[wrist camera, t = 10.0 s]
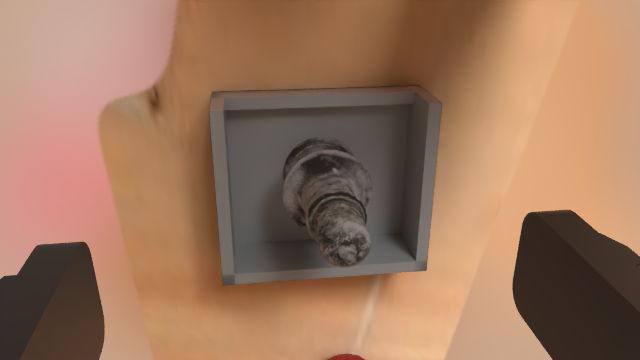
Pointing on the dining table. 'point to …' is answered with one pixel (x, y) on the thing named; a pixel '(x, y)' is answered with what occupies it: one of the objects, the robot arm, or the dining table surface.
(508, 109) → the dining table surface
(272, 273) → the box
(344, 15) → the dining table surface
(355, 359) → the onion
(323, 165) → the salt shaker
